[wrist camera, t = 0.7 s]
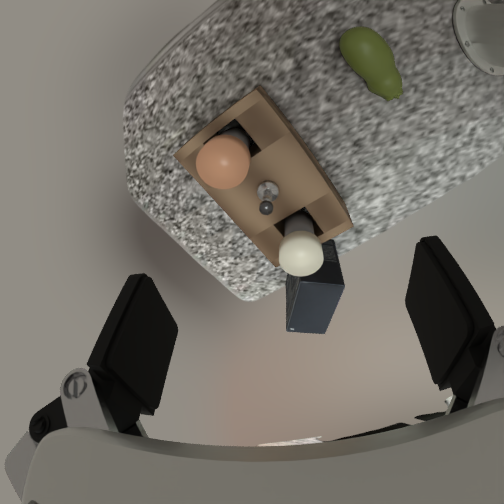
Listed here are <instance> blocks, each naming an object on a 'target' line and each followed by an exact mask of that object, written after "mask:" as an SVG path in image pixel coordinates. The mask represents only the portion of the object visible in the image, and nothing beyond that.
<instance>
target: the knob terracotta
mask: <svg viewBox="0 0 504 504" xmlns="http://www.w3.org/2000/svg"><path fill="white" fill-rule="evenodd" d="M249 147H250V139H249V137H248V135H247V134H246V133H245V132H244V131H243V130H241V129H239V128H229V129H227V130H225V131H224V132H222V134H221V135H218V136H215V137H213V138H212V139H210V140H209V141H208V142H207V143H206V144H205V145H204V146H203V148H202V149H201V150H200V151H199V153H198V155H197V159H196V169H197V172H198V174H199V176H200V178H201V179H202V180H203V181H204V182H205V183H206V184H208V185H209V186H211V187H214V188H217V189H230V188H234V187H236V186H238V185H239V184H240V183H241V182H242V181H243V180H244V179H245V177H246V176H247V173H248V170H249V166H250V162H251V155H250V152H249Z"/></svg>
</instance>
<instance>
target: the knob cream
mask: <svg viewBox="0 0 504 504" xmlns="http://www.w3.org/2000/svg"><path fill="white" fill-rule="evenodd" d="M323 259H324V258H323V251H322V245H321V242H320V240H319V238H318V237H317V236H316V235H315V234H314V228H313V221H312V218H311V216H310V215H309V214H308V213H306V212H304V211H300V210H298V211H296V212H294V213H293V214H291V215H289V216H288V217H286V218H285V237H284V238H283V239H282V241H281V243H280V246H279V263H280V266H281V268H282V269H283V270H284V271H285V272H287V273H288V274H291V275H293V276H308V275H311V274H313V273H315V272H316V271H317V270H318V269H319V268H320V267H321V266H322V264H323Z"/></svg>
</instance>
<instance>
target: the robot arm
mask: <svg viewBox="0 0 504 504" xmlns="http://www.w3.org/2000/svg"><path fill="white" fill-rule="evenodd" d="M453 25H454V29H455V33H456V36H457V39H458V41H459V43H460V46H461V48H462V49H463V51H464V53H465V54H466V56H467V57H468V58H469V59H470V61H471V62H472V63H473V64H474V65H475V66H476V67H478V68H479V69H480V70H482V71H483V72H485V73H487V74H491V75H496V76H501V75H504V3H502V4H492V3H491V2H489V1H488V0H458V2H457V3H456V5H455V7H454V11H453ZM405 304H406V308H407V310H408V313H409V315H410V318H411V320H412V323H413V325H414V328H415V331H416V333H417V336H418V338H419V341H420V344H421V347H422V350H423V352H424V355H425V358H426V361H427V364H428V367H429V370H430V373H431V376H432V380H433V382H434V383H435V384H438V386H439V390H440V391H441V390H444V389H447V388H450V387H451V388H452V391H453V397H452V400H451V402H450V405H449V407H448V409H447V412H446V414H445V416H442V417H439V418H435V419H432V420H429V421H425V422H422V423H418V424H415V425H411V426H407V427H404V428H400V429H396V430H392V431H387V432H383V433H378V434H373V435H368V436H363V437H358V438H352V439H345V440H339V441H331V442H323V443H314V444H303V445H289V446H265V447H237V446H213V445H200V444H188V443H180V442H172V441H164V440H158V439H151V438H149V437H148V436H147V434H146V432H145V430H144V428H143V426H142V424H141V422H140V420H139V416H140V413H141V414H145V415H152V416H153V415H154V412H155V409H157V408H158V407H159V404H160V400H161V396H162V392H163V388H164V383H165V379H166V375H167V371H168V367H169V364H170V360H171V356H172V352H173V349H174V345H175V341H176V338H177V334H178V327H177V324H176V322H175V321H174V319H173V317H172V315H171V313H170V311H169V310H168V308H167V306H166V304H165V302H164V301H163V299H162V297H161V295H160V293H159V292H158V290H157V288H156V286H155V284H154V282H153V280H152V278H150V277H148V276H147V275H146V274H144V273H143V274H134V275H130V276H129V277H128V279H127V281H126V283H125V285H124V286H123V288H122V290H121V292H120V294H119V296H118V298H117V300H116V302H115V304H114V306H113V308H112V310H111V312H110V314H109V316H108V318H107V320H106V322H105V324H104V327H103V329H102V331H101V333H100V335H99V337H98V340H97V342H96V344H95V346H94V348H93V351H92V353H91V355H90V358H89V360H88V362H87V365H88V366H89V367H90V368H89V371H87V370H85V369H83V368H77V369H74V370H72V371H71V372H69V373H68V374H67V375H66V376H65V378H64V379H63V381H62V384H61V387H60V394H61V396H60V397H58V398H57V399H55V400H54V401H52V402H51V403H49V404H48V405H46V406H45V407H44V408H42V409H41V410H39V411H38V412H37V413H35V414H34V416H33V417H32V419H31V421H30V425H29V432H26V433H25V434H24V436H23V437H22V438H21V440H20V441H19V442H18V443H17V444H16V446H15V447H14V448H13V449H12V451H11V452H10V453H9V454H8V456H7V458H6V460H5V470H6V473H7V475H8V477H9V479H10V481H11V483H12V485H13V487H14V489H15V491H16V492H17V494H18V496H19V498H20V500H21V501H22V504H504V326H501V327H499V328H497V329H496V328H495V326H494V322H493V320H492V319H491V317H490V315H489V313H488V312H487V310H486V308H485V306H484V305H483V303H482V301H481V299H480V298H479V296H478V294H477V293H476V291H475V290H474V288H473V286H472V285H471V283H470V282H469V280H468V279H467V277H466V275H465V274H464V272H463V271H462V269H461V268H460V267H459V265H458V264H457V262H456V261H455V259H454V258H453V256H452V255H451V254H450V252H449V251H448V250H447V248H446V247H445V245H444V244H443V243H442V241H441V240H440V239H439V237H438V236H429V237H423V238H421V240H420V242H418V243H417V244H416V248H415V254H414V259H413V265H412V270H411V275H410V280H409V285H408V289H407V293H406V298H405Z"/></svg>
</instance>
